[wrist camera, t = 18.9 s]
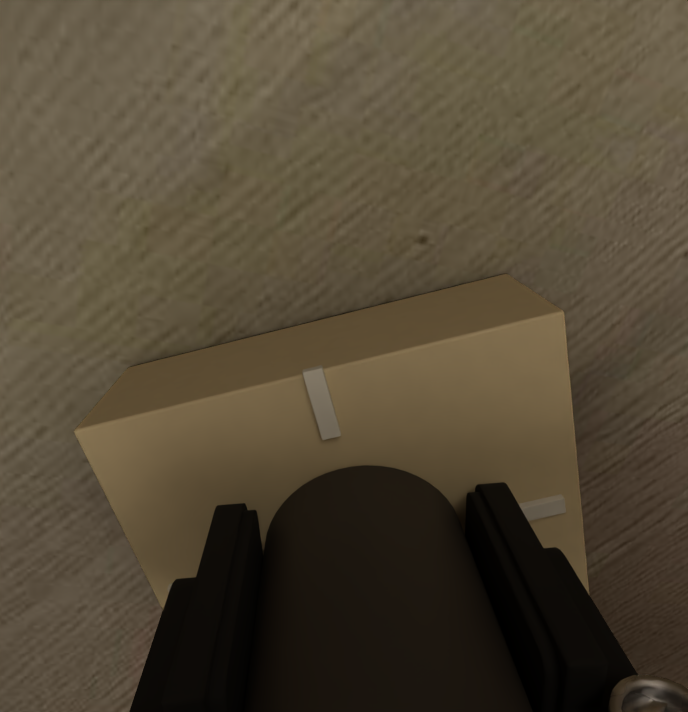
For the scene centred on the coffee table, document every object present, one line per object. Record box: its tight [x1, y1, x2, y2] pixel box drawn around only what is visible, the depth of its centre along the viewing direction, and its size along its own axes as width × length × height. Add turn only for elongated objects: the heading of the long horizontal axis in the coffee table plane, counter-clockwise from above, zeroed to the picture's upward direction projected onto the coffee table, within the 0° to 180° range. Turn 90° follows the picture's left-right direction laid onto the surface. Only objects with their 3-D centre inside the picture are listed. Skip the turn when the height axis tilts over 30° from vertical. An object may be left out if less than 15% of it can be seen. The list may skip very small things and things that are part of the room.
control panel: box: [74, 274, 590, 609], centre depth 13 cm, size 12×9×3 cm
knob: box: [243, 465, 533, 712], centre depth 8 cm, size 4×4×5 cm
